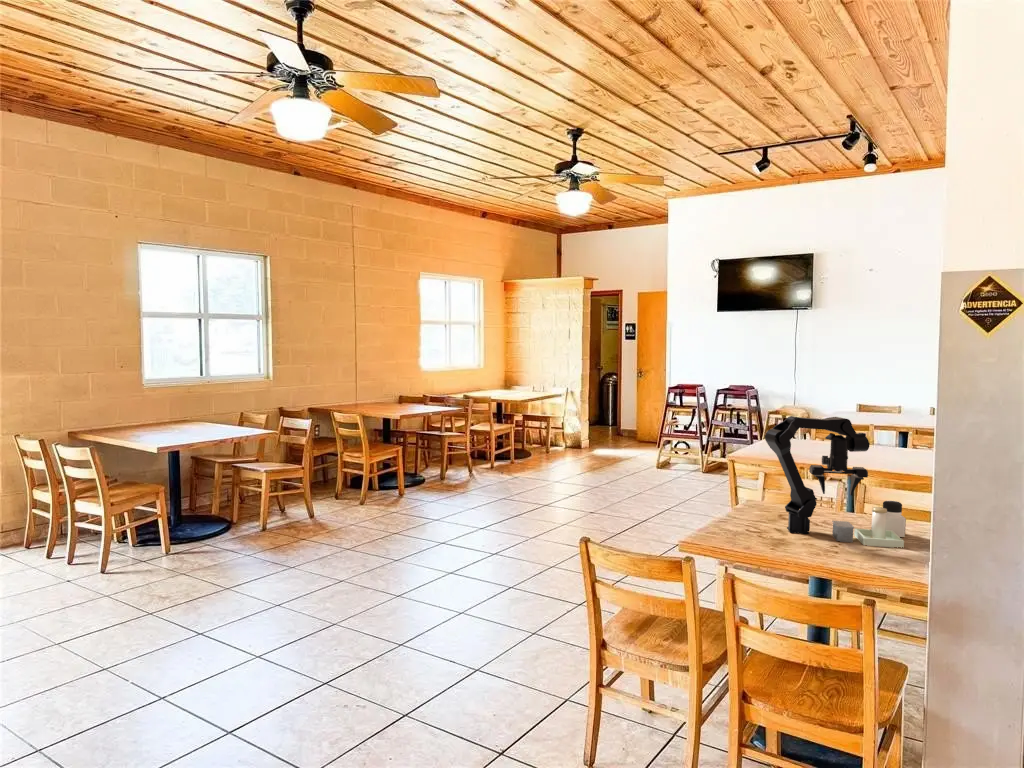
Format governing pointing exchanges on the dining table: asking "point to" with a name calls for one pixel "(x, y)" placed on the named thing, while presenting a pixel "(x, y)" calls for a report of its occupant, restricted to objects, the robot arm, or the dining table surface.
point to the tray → (866, 539)
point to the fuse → (878, 523)
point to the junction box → (843, 531)
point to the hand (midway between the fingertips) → (837, 494)
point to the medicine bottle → (895, 518)
